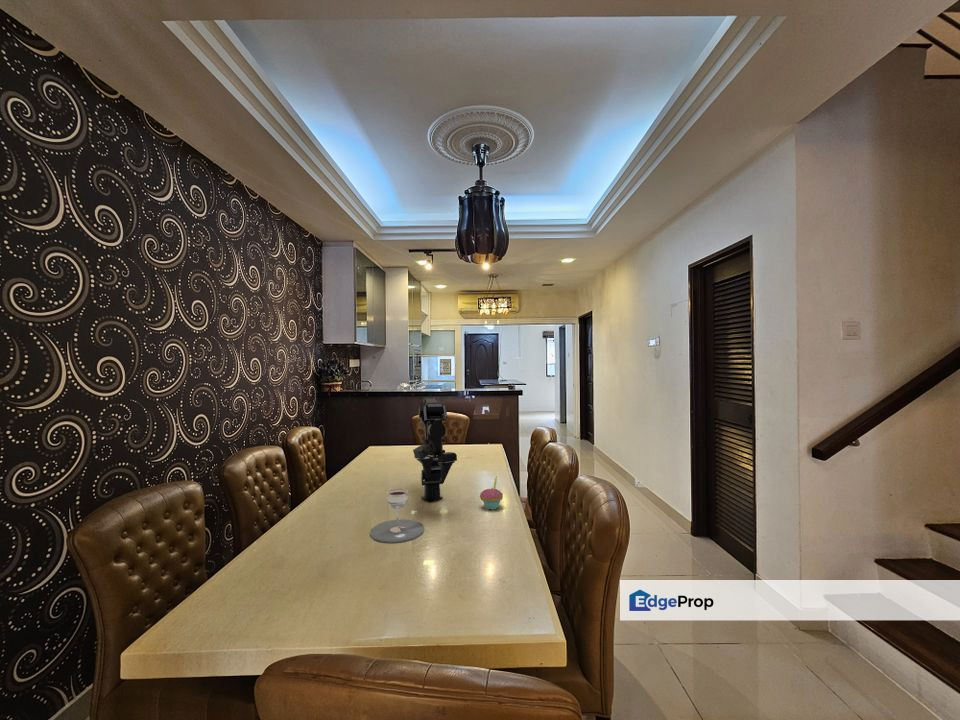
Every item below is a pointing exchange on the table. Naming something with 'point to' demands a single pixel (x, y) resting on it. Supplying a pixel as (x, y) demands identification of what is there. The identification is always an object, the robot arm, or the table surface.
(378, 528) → the slate plate
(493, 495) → the cupcake
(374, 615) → the table surface
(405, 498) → the wineglass
